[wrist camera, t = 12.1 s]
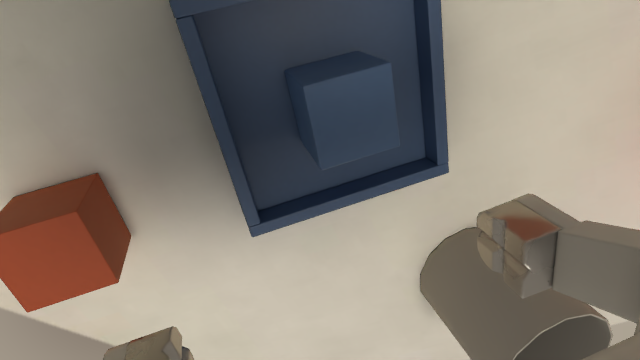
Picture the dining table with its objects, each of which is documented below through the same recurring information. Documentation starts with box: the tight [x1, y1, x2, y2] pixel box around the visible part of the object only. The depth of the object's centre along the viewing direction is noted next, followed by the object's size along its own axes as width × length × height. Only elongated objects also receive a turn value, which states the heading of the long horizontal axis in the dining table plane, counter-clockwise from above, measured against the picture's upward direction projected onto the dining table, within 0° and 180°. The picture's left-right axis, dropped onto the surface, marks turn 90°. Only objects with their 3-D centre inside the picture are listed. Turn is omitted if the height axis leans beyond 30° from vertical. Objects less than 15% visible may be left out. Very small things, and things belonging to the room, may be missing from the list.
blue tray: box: [169, 0, 449, 237], centre depth 23 cm, size 14×14×2 cm
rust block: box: [0, 173, 131, 312], centre depth 21 cm, size 4×4×4 cm
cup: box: [420, 228, 613, 360], centre depth 29 cm, size 8×8×10 cm
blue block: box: [284, 51, 400, 170], centre depth 21 cm, size 4×4×4 cm
